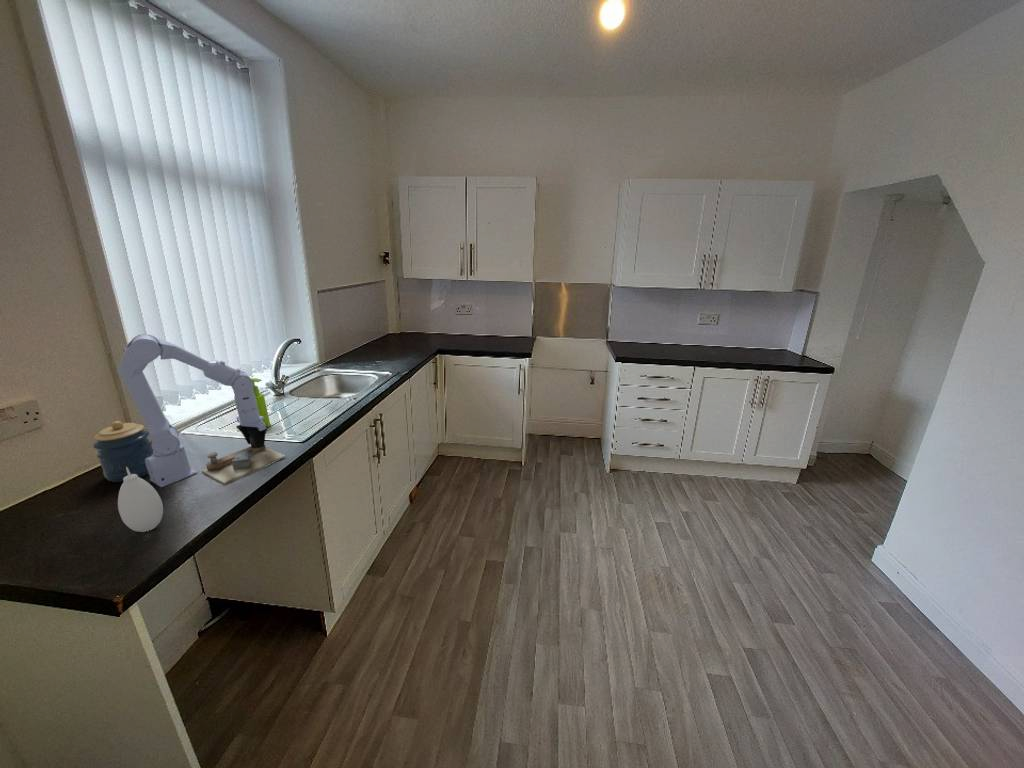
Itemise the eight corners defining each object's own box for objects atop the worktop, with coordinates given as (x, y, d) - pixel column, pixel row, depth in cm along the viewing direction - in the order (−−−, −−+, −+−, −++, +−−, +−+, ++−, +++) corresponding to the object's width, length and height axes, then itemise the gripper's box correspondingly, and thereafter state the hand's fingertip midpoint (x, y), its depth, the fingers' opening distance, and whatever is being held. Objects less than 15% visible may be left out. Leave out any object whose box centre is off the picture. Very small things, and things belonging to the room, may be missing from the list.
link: (211, 471, 126) (207, 456, 124) (204, 468, 128) (200, 453, 126) (266, 449, 140) (263, 435, 138) (259, 446, 142) (256, 432, 140)
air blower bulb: (127, 529, 102) (103, 466, 96) (166, 515, 107) (146, 455, 101) (129, 544, 97) (104, 479, 91) (170, 529, 102) (149, 466, 96)
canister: (128, 485, 121) (108, 432, 116) (94, 480, 124) (73, 428, 118) (170, 463, 133) (154, 414, 128) (139, 460, 136) (122, 411, 130)
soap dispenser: (264, 430, 157) (253, 381, 151) (249, 429, 158) (238, 380, 152) (276, 424, 162) (265, 377, 156) (261, 422, 164) (250, 376, 157)
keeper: (250, 470, 129) (247, 459, 127) (234, 472, 127) (231, 461, 126) (256, 460, 135) (253, 449, 133) (240, 462, 133) (238, 451, 132)
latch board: (224, 484, 121) (223, 482, 121) (202, 472, 128) (201, 470, 128) (285, 457, 136) (285, 455, 136) (263, 447, 143) (262, 445, 143)
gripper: (271, 408, 134) (279, 445, 138) (248, 400, 141) (256, 435, 145) (249, 415, 128) (258, 453, 132) (226, 407, 135) (235, 443, 140)
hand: (256, 444), depth 139 cm, fingers open, 5 cm apart
